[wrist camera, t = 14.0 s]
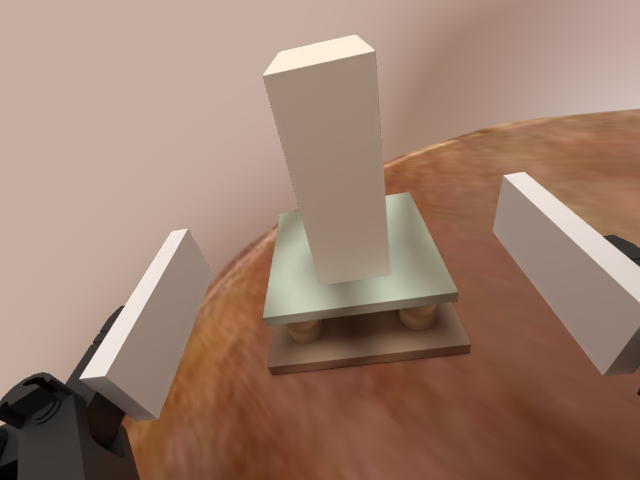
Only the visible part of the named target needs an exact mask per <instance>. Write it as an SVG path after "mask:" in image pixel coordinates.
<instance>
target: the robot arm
mask: <svg viewBox="0 0 640 480" xmlns="http://www.w3.org/2000/svg"><path fill="white" fill-rule="evenodd" d="M493 233H494V234H495V235H496V237H497V238H498V239H499V241H500V242H501V243H502V245H503V246H504V247H505V248H506V250H507V251H508V252H509V254H510V255H511V256H512V258H513V259H514V260H515V262H516V263H517V264H518V265H519V267H520V268H521V269H522V271H523V272H524V273H525V275H526V276H527V277H528V279H529V280H530V281H531V282H532V284H533V285H534V286H535V288H536V289H537V290H538V292H539V293H540V294H541V296H542V297H543V298H544V300H545V301H546V302H547V303H548V305H549V306H550V307H551V309H552V310H553V311H554V313H555V314H556V315H557V317H558V318H559V319H560V320H561V322H562V323H563V324H564V326H565V327H566V328H567V330H568V331H569V332H570V334H571V335H572V336H573V338H574V339H575V340H576V341H577V343H578V344H579V345H580V347H581V348H582V349H583V351H584V352H585V353H586V355H587V356H588V357H589V358H590V360H591V361H592V362H593V364H594V365H595V366H596V368H597V369H598V370H599V372H600V373H601V374H602V376H608V375H618V374H628V373H634V372H635V371H636V370H637V368H638V367H639V366H640V248H639V247H637V246H636V245H635V244H633V243H630V242H628V241H626V240H624V239H622V238H619V237H617V236H615V235H608V236H601V235H600V234H599V233H598V232H596V231H595V230H594V229H593V228H592V227H590V226H589V225H588V224H587V223H586V222H584V221H583V220H582V219H581V218H579V217H578V216H577V215H576V214H575V213H573V212H572V211H571V210H570V209H569V208H567V207H566V206H565V205H564V204H562V203H561V202H560V201H559V200H558V199H556V198H555V197H554V196H553V195H552V194H550V193H549V192H548V191H547V190H546V189H544V188H543V187H542V186H541V185H539V184H538V183H537V182H536V181H535V180H533V179H532V178H531V177H530V176H529V175H527V174H526V173H525V172H521V173H515V174H509V175H503V180H502V185H501V190H500V195H499V200H498V206H497V211H496V216H495V221H494V226H493ZM212 275H213V272H212V270H211V268H210V267H209V265H208V263H207V261H206V260H205V258H204V256H203V254H202V253H201V251H200V249H199V247H198V246H197V244H196V242H195V240H194V239H193V237H192V235H191V234H190V232H189V230H188V229H184V230H178V231H172V232H171V233H170V235H169V237H168V238H167V240H166V241H165V243H164V245H163V246H162V248H161V249H160V251H159V253H158V254H157V256H156V257H155V259H154V260H153V262H152V264H151V265H150V267H149V268H148V270H147V272H146V273H145V275H144V276H143V278H142V280H141V281H140V283H139V285H138V286H137V288H136V289H135V291H134V292H133V294H132V295H131V297H130V299H129V300H128V302H127V304H126V305H125V306H121V307H120V308H119V309H117V310H116V311H115V312H114V313H113V314H112V315H111V316H110V317H109V318H108V320H107V321H106V323H105V324H104V326H103V327H102V329H101V330H100V334H98V335H97V337H96V338H95V339H94V341H93V345H91V346H90V347H89V349H88V351H87V352H86V353H85V355H84V357H83V358H82V359H81V361H80V362H79V364H78V366H77V367H76V369H75V370H74V372H73V373H72V375H71V376H70V378H69V379H68V381H67V382H66V384H63V383H62V382H60V381H59V380H57V379H56V378H55V377H53V376H52V375H50V374H48V373H44V372H42V373H38V374H34V375H32V376H30V377H28V378H26V379H24V380H23V381H21V382H20V383H18V384H17V385H15V386H14V387H13V388H12V389H11V390H10V391H9V392H8V393H7V394H6V395H5V396H4V397H3V398H2V399H1V401H0V420H1V421H3V422H5V423H7V424H5V425H2V426H0V480H140V479H139V475H138V471H137V468H136V464H135V460H134V457H133V453H132V449H131V446H130V442H129V438H128V435H127V431H126V429H125V427H124V426H123V425H122V424H121V422H122V420H123V418H124V416H125V414H127V415H128V416H129V417H131V418H132V419H134V420H135V421H146V420H156V419H158V418H159V416H160V413H161V410H162V408H163V405H164V402H165V400H166V397H167V394H168V392H169V389H170V386H171V384H172V381H173V379H174V376H175V373H176V371H177V368H178V365H179V363H180V360H181V357H182V355H183V352H184V349H185V347H186V344H187V342H188V339H189V336H190V334H191V331H192V328H193V326H194V323H195V320H196V318H197V315H198V312H199V310H200V307H201V305H202V302H203V299H204V297H205V294H206V291H207V289H208V286H209V283H210V281H211V278H212ZM637 394H638V395H640V388H639V390H638V393H637Z"/></svg>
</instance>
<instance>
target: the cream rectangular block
mask: <svg viewBox="0 0 640 480" xmlns="http://www.w3.org/2000/svg"><path fill="white" fill-rule="evenodd" d="M375 52H376V51H375V50H374V49H373V48H371V47H370V46H369V45H368V44H366V43H365V42H364V41H363V40H362V39H360V38H359V37H358V36H357V35H351V36H347V37H342V38H338V39H334V40H329V41H325V42H321V43H316V44H312V45H307V46H303V47H299V48H294V49H290V50H286V51H281V52H279V53H278V55H277V56H276V58H275V59H274V60H273V62H272V63H271V65H270V66H269V68H268V69H267V70H266V72H265V73H264V75H263V79H264V83H265V86H266V90H267V93H268V97H269V101H270V105H271V108H272V112H273V115H274V119H275V122H276V126H277V130H278V134H279V137H280V141H281V144H282V148H283V152H284V155H285V159H286V162H287V166H288V170H289V174H290V177H291V181H292V184H293V188H294V192H295V195H296V199H297V203H298V206H299V210H300V214H301V217H302V221H303V225H304V228H305V232H306V235H307V239H308V243H309V246H310V250H311V254H312V257H313V261H314V265H315V268H316V272H317V275H318V279H319V283H320V286H321V285H328V284H335V283H342V282H349V281H356V280H363V279H370V278H377V277H384V276H391V272H390V257H389V242H388V228H387V213H386V198H385V183H384V169H383V154H382V139H381V124H380V110H379V95H378V81H377V66H376V53H375Z"/></svg>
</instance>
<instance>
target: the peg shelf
mask: <svg viewBox="0 0 640 480" xmlns="http://www.w3.org/2000/svg"><path fill="white" fill-rule="evenodd" d="M385 198H386V213H387V228H388V242H389V257H390V272H391V276H384V277H377V278H370V279H363V280H356V281H349V282H342V283H335V284H328V285H321V286H320V283H319V279H318V275H317V272H316V268H315V265H314V261H313V257H312V254H311V250H310V246H309V243H308V239H307V235H306V232H305V228H304V225H303V221H302V217H301V214H300V211H294V212H289V213H283V214H280V218H279V224H278V230H277V236H276V242H275V248H274V254H273V260H272V266H271V272H270V278H269V284H268V290H267V296H266V302H265V308H264V314H263V319H264V321H265V324H266V326H272V325H273V332H272V339H271V347H270V355H269V362H268V369H269V370H270V372H271V374H272V375H276V374H285V373H294V372H303V371H312V370H320V369H329V368H338V367H347V366H356V365H365V364H374V363H383V362H392V361H401V360H410V359H419V358H428V357H437V356H446V355H455V354H464V353H469V352H470V347H471V343H470V341H469V339H468V336H467V334H466V332H465V330H464V328H463V325H462V323H461V321H460V319H459V317H458V314H457V312H456V310H455V308H454V306H453V303H452V302H457V298H458V290H457V288H456V286H455V284H454V282H453V280H452V278H451V276H450V274H449V272H448V270H447V268H446V266H445V264H444V262H443V260H442V258H441V256H440V254H439V252H438V250H437V248H436V246H435V244H434V241H433V239H432V237H431V235H430V233H429V231H428V229H427V227H426V225H425V223H424V221H423V219H422V217H421V215H420V213H419V211H418V209H417V207H416V205H415V203H414V201H413V199H412V197H411V195H410V193H409V192H407V193H401V194H395V195H389V196H385Z"/></svg>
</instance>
